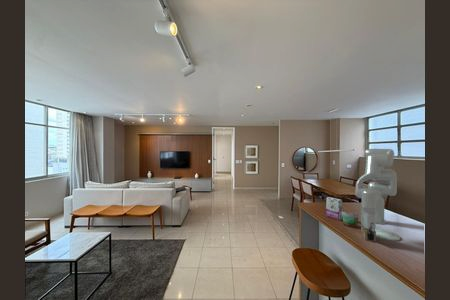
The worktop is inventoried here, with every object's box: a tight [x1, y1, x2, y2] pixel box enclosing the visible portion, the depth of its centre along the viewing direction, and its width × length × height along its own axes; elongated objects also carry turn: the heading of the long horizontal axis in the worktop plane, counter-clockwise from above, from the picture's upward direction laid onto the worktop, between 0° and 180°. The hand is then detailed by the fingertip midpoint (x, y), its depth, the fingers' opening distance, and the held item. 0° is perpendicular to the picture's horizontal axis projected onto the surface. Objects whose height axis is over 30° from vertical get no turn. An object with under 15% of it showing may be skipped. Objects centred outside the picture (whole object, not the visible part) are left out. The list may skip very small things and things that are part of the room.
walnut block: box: [360, 226, 377, 242], centre depth 123 cm, size 6×6×6 cm
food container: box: [341, 209, 360, 229], centre depth 143 cm, size 12×6×10 cm, turn 23°
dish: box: [375, 228, 401, 242], centre depth 127 cm, size 14×14×1 cm
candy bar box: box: [325, 196, 343, 221], centre depth 159 cm, size 11×5×16 cm, turn 30°
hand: (368, 237), depth 123 cm, fingers closed on walnut block, 6 cm apart
